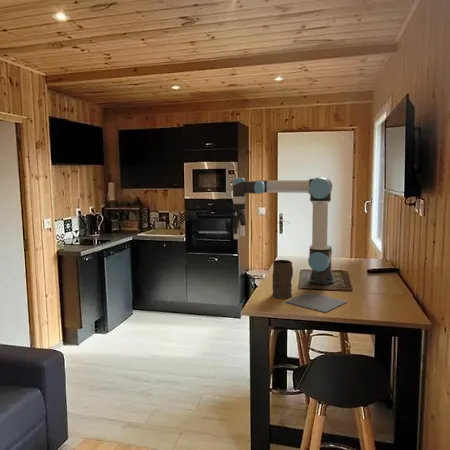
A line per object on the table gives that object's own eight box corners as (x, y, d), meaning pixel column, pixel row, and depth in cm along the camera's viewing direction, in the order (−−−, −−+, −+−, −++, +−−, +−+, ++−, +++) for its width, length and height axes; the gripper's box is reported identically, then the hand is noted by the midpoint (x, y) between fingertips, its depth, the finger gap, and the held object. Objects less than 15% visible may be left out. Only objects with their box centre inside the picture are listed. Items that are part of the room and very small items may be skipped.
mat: (285, 302, 220) (285, 301, 220) (308, 293, 236) (308, 292, 236) (325, 312, 204) (325, 311, 204) (347, 302, 220) (347, 301, 219)
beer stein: (286, 300, 224) (287, 263, 223) (268, 297, 230) (269, 261, 229) (297, 294, 238) (298, 259, 236) (280, 291, 243) (281, 257, 242)
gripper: (239, 201, 271) (239, 234, 273) (226, 204, 247) (227, 240, 250) (250, 201, 268) (250, 234, 271) (238, 204, 245) (239, 240, 247)
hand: (239, 237), depth 260 cm, fingers open, 13 cm apart
